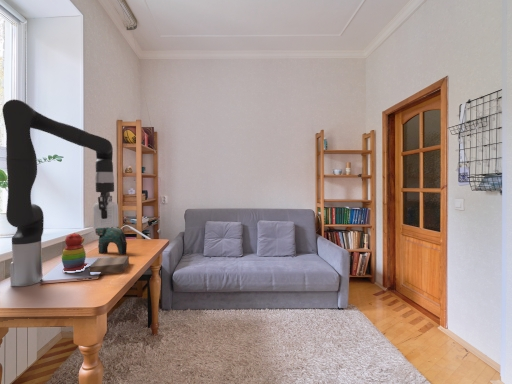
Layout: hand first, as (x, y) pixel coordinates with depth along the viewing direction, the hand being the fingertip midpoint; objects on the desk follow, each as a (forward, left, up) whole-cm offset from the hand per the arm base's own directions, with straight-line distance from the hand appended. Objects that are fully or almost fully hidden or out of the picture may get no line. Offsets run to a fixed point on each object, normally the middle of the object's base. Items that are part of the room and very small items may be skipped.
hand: (106, 217), depth 119 cm
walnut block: (+1, +3, -26) cm, 26 cm away
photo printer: (0, 0, -5) cm, 5 cm away
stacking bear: (-15, +7, -26) cm, 31 cm away
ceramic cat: (-5, +35, -26) cm, 44 cm away
